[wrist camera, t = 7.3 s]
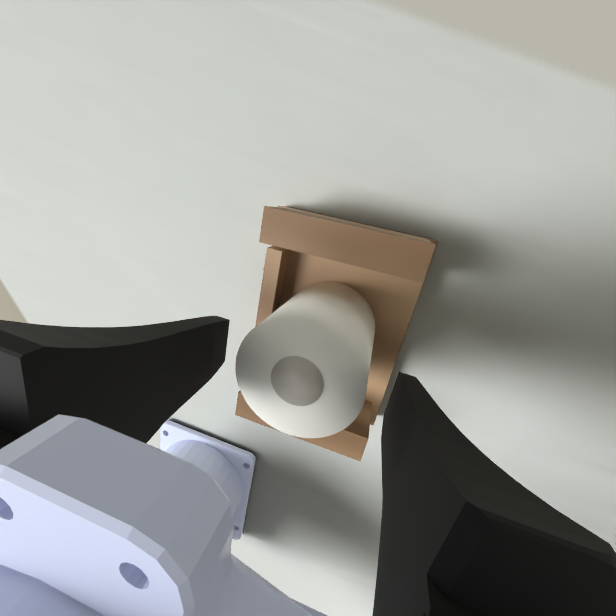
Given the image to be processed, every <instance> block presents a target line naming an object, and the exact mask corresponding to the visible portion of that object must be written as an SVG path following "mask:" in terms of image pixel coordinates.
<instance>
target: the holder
mask: <svg viewBox="0 0 616 616" xmlns="http://www.w3.org/2000/svg"><path fill="white" fill-rule="evenodd" d="M259 242H261V243H265V244H269V245H272V246H271V247H268V248H267V253H266V260H265V266H264V273H263V280H262V286H261V293H260V300H259V306H258V313H257V320H256V326H257V325H259V324H260V323H261V322H262V321H263V320H265V319H266V318H267V317H268V316H270V315H271V314H272V313H273V312H275V311H276V310H277V309H278V308H280V307H281V306H282V305H283V304H285V303H286V302H287V301H288V300H290V299H291V298H292V297H293V296H295V295H296V294H297V293H298V292H300V291H301V290H302V289H303V288H305V287H307V286H309V285H311V284H313V283H317V282H322V281H333V282H339V283H343V284H345V285H348V286H350V287H351V288H353V289H355V290H356V291H357V292H359V293H360V294H361V295H362V296H363V297H364V298H365V300H366V301H367V302H368V304H369V305H370V307H371V309H372V312H373V315H374V318H375V335H374V342H373V349H372V356H371V362H370V369H369V376H368V383H367V390H366V397H365V401H364V404H363V407H362V409H361V411H360V413H359V415H358V416H357V417H356V419H355V420H354V421H353V422H352V423H351V424H350V425H349V426H348V427H346V428H345V429H344V430H342V431H340V432H338V433H336V434H333V435H331V436H327V437H322V438H301V437H296V436H294V437H296V438H299V439H302V440H304V441H307V442H310V443H312V444H315V445H318V446H321V447H323V448H326V449H329V450H331V451H334V452H337V453H339V454H342V455H345V456H347V457H350V458H353V459H355V460H358V461H361V458H362V455H363V452H364V449H365V447H366V444H367V441H368V436H369V426H370V424H371V425H374V422H375V419H376V416H377V413H378V411H379V408H380V405H381V402H382V399H383V396H384V393H385V391H386V388H387V385H388V382H389V379H390V376H391V373H392V371H393V368H394V365H395V362H396V359H397V356H398V353H399V351H400V348H401V345H402V342H403V339H404V336H405V333H406V331H407V328H408V325H409V322H410V319H411V316H412V313H413V311H414V308H415V305H416V302H417V299H418V296H419V293H420V291H421V288H422V285H423V282H424V279H425V276H426V273H427V271H428V268H429V265H430V262H431V259H432V256H433V253H434V251H435V248H436V245H437V242H438V241H436V240H433V239H429V238H424V237H420V236H415V235H411V234H406V233H402V232H397V231H393V230H388V229H384V228H379V227H375V226H370V225H366V224H361V223H357V222H352V221H348V220H343V219H339V218H334V217H330V216H325V215H321V214H316V213H312V212H307V211H303V210H298V209H294V208H289V207H285V206H278V207H267V206H264V212H263V219H262V226H261V234H260V241H259ZM256 326H255V327H256ZM235 415H237V416H240V417H243V418H245V419H248V420H251V421H253V422H256V423H259V424H261V425H264V426H267V427H270V428H272V429H275V428H273V427H272V426H270V425H268V424H267V423H266V422H264V421H263V420H262V419H261V418H260V417H259V416H258V415H256V414H255V412H254V411H253V410H252V409H251V408H250V406H249V405H248V404H247V402H246V401H245V399H244V397H243V395H242V393H241V391H239V392H238V399H237V406H236V413H235ZM275 430H277V429H275ZM278 431H279V430H278ZM280 432H281V431H280ZM288 435H289V434H288ZM291 436H292V435H291Z"/></svg>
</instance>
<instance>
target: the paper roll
mask: <svg viewBox="0 0 616 616" xmlns="http://www.w3.org/2000/svg"><path fill="white" fill-rule="evenodd" d="M374 335H375V318H374V315H373V312H372V309H371V307H370V305H369V304H368V302H367V301H366V300H365V298H364V297H363V296H362V295H361V294H360V293H359V292H357V291H356V290H355V289H353V288H351V287H350V286H348V285H345V284H343V283H339V282H333V281H322V282H317V283H313V284H311V285H309V286H307V287H305V288H303V289H302V290H301V291H300V292H298V293H297V294H296V295H295V296H293V297H292V298H291V299H290V300H288V301H287V302H286V303H285V304H283V305H282V306H281V307H280V308H278V309H277V310H276V311H275V312H273V313H272V314H271V315H270V316H268V317H267V318H266V319H265V320H263V321H262V322H261V323H260V324H259V325H257V326H256V327H255V328H254V329H252V330H251V331H250V332H249V333H248V334H247V336H246V337H245V338H244V340H243V341H242V343H241V345H240V347H239V350H238V353H237V357H236V377H237V382H238V385H239V388H240V391H241V393H242V395H243V397H244V399H245V401H246V402H247V404H248V405H249V406H250V408H251V409H252V410H253V411H254V412H255V414H256V415H258V416H259V417H260V418H261V419H262V420H263V421H264V422H266V423H267V424H268V425H270V426H272V427H273V428H275V429H277V430H279V431H281V432H283V433H286V434H289V435H292V436H296V437H301V438H322V437H327V436H331V435H333V434H336V433H338V432H340V431H342V430H344V429H345V428H346V427H348V426H349V425H350V424H351V423H352V422H353V421H354V420H355V419H356V417H357V416H358V415H359V413H360V411H361V409H362V407H363V404H364V401H365V397H366V390H367V383H368V376H369V369H370V362H371V356H372V349H373V342H374Z"/></svg>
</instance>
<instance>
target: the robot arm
mask: <svg viewBox="0 0 616 616" xmlns="http://www.w3.org/2000/svg"><path fill="white" fill-rule="evenodd" d="M228 329H229V320H228V319H225V318H222V317H218V316H207V317H199V318H193V319H186V320H180V321H174V322H167V323H159V324H151V325H143V326H131V327H62V326H49V325H38V324H29V323H21V322H13V321H4V320H0V616H327V615H325V614H323V613H320V612H318V611H316V610H314V609H312V608H310V607H308V606H306V605H304V604H302V603H299V602H297V601H295V600H293V599H291V598H289V597H288V596H286V595H285V594H284V593H282V592H281V591H280V590H279V589H277V588H276V587H275V586H273V585H272V584H271V583H269V582H268V581H267V580H265V579H264V578H263V577H261V576H260V575H259V574H257V573H256V572H255V571H253V570H252V569H251V568H249V567H248V566H247V565H245V564H244V563H243V562H241V561H240V560H239V559H238V558H236V557H235V556H234V555H232V554H231V542H232V539H235V540H239V539H240V537H241V535H242V532H243V526H244V521H245V515H246V510H247V504H248V499H249V493H250V488H251V482H252V477H253V471H254V466H255V460H256V459H255V456H254V455H253V454H252V453H251V452H248V451H246V450H243V449H241V448H238V447H236V446H233V445H230V444H228V443H225V442H223V441H220V440H218V439H215V438H213V437H210V436H208V435H205V434H203V433H200V432H198V431H195V430H192V429H190V428H187V427H185V426H182V425H180V424H177V423H175V422H172V421H170V420H168V419H169V418H170V417H171V416H172V415H173V414H174V413H175V412H176V411H177V410H178V409H179V408H180V407H181V406H182V405H183V404H184V403H185V402H187V401H188V400H189V399H190V398H191V397H192V396H193V395H194V394H195V393H196V392H197V391H198V390H200V389H201V388H202V387H203V386H204V385H205V384H206V383H207V382H208V381H209V380H210V379H211V378H212V377H213V376H214V374H215V373H216V372H217V371H218V369H219V368H220V367H221V366H222V364H223V363H224V362H225V354H226V346H227V337H228ZM160 427H161V438H160V449H158V448H155V447H153V446H151V445H148V444H146V443H147V442H148V441H149V440H150V439H151V437H152V436H153V435H154V434H155V433H156V432H157V431H158V429H159V428H160ZM381 450H382V487H383V507H382V521H381V535H380V546H379V558H378V569H377V579H376V589H375V599H374V608H373V616H616V553H615V551H614V550H613V548H612V547H611V545H610V544H609V543H607V542H606V541H604V540H603V539H601V538H600V537H598V536H596V535H595V534H593V533H592V532H590V531H589V530H587V529H585V528H584V527H582V526H581V525H579V524H578V523H576V522H574V521H573V520H571V519H570V518H568V517H567V516H565V515H563V514H562V513H560V512H559V511H557V510H556V509H554V508H553V507H551V506H550V505H549V504H547V503H546V502H544V501H543V500H542V499H540V498H539V497H537V496H536V495H535V494H533V493H532V492H530V491H529V490H528V489H526V488H525V487H524V486H522V485H521V484H520V483H518V482H517V481H516V480H514V479H513V478H512V477H511V476H509V475H508V474H507V473H506V472H504V471H503V470H502V469H501V468H500V467H498V466H497V465H496V464H495V463H493V462H492V461H491V460H490V459H489V458H488V457H487V456H485V455H484V454H483V453H482V452H481V451H480V450H479V449H478V448H477V447H476V446H475V445H474V444H473V443H472V442H470V441H469V440H468V439H467V438H466V437H465V436H464V435H463V434H462V433H461V432H460V430H459V429H458V428H457V427H456V426H455V425H454V424H453V423H452V422H451V420H450V419H449V418H448V417H447V416H446V415H445V414H444V412H443V411H442V410H441V409H440V408H439V406H438V405H437V404H436V402H435V401H434V400H433V399H432V397H431V396H430V395H429V393H428V392H427V391H426V389H425V388H424V387H423V386H422V384H421V383H420V382H419V380H418V379H417V378H416V377H414V376H410V375H407V374H404V373H401V372H399V374H398V377H397V380H396V383H395V385H394V388H393V391H392V394H391V396H390V399H389V402H388V405H387V408H386V410H385V413H384V418H383V426H382V436H381Z"/></svg>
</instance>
